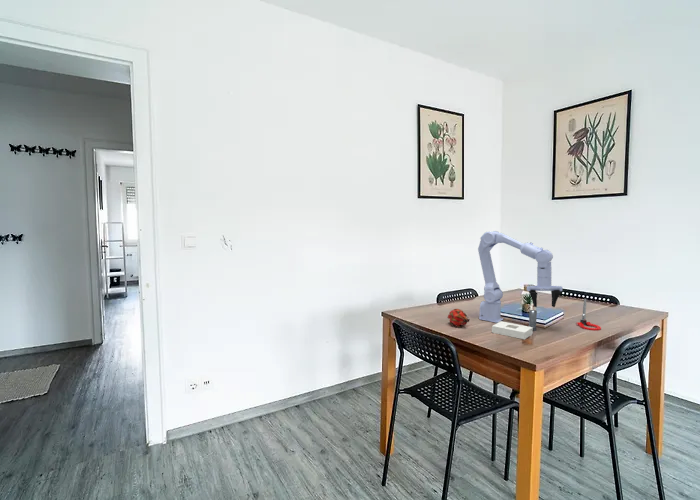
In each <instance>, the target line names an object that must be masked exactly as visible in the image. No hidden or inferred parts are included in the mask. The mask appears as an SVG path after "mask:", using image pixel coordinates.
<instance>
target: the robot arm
mask: <svg viewBox="0 0 700 500" xmlns="http://www.w3.org/2000/svg"><path fill="white" fill-rule="evenodd" d="M479 239H480V241H479V245H478V248H477V251H478V256H479V260H480V265H481V270H482V274H483V280H484V284H485V285H484V288H483V290H484V291H483V292H484V294H483V299H484V300H482V301H481V302H480V304H479V317H478V319H479V320H481V321H482V320H483V321H486V322H491V323H495V324H497V323H498V322H500V321H502V322H503V320H504V318H502V317H501V315H502V314H501V311H502V309H501V308H502V301H501V299H502V298H503V297H504V293H503V290H502V289H501V287H500V284H499V283H498V282H497V279H496V273H495V269H494V265H493V261H492V260H493V259H492V255H491V250H492V249H493V248H494V246H496V245H497V244H506V245H508V246H510V247H513V248H515V249H518V250H519V251H520V253H521V254H522V255H524V256H526V257H528V258H531V259H532V260H535V261H536V262H537V267H536V269H537V270H536V271H537V274H536V275H537V276H536V277H537V278H536V279H537V281H536V285H528V286H526V291H527V292H528V294H529V295H530V298H531V299H532V304H533V307H535V308H537V306H538V304H537V303H538V299H537V298H538V291H539V292H541V291H542V292H543V291H544V292H546V291H547V292H549V291H550V292H551V293H550V294H551V307H552V308H555V307H556V304H557V301H558V299H559V297H560V295H561V292H563V286H562V285H552V260H553V258H554V255H553V253H552V252H551V251H550V249H549V250H548V249H544V247H539V246H537V245H534V243H533V242H524V243H523V242H521V241H519V240H517V238H516V239H515V238H513V237H511V236H509V235H507V234H505V233H502V232H499V231H497V230H493V231H486V232H484V233H483V234H482V235H481V236H480V238H479Z"/></svg>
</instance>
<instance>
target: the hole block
mask: <svg viewBox="0 0 700 500" xmlns="http://www.w3.org/2000/svg"><path fill="white" fill-rule="evenodd" d="M533 332H534V331H533V327H529V325H528V326H527V325H522V324H517V323H512V322H506V321H503V320H502V321H500V322H498V323H495V324H493V325H492V326H491V333H492V334H495V335H496V334H497V335H502V336H506V337H511V338H515V339H516V338H517V339H520V340H526V339H528V338H529V337H530V336H532V335H534V334H533Z"/></svg>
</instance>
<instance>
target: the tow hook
mask: <svg viewBox="0 0 700 500" xmlns="http://www.w3.org/2000/svg"><path fill="white" fill-rule="evenodd" d="M583 299H584V300H583V301H584V302H583V304H582V305H583V306H582V313H581V319H579V322H578V321H577V322H576V323H575V325H576V326H579V328H581V329H583V330H586V331H597V332H598V331H601V330H602V327H601V326H600V325H598V324H594V323H592V322H590V321H587V316H586V313H587V298H583ZM589 326H590V327H589Z"/></svg>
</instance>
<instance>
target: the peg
mask: <svg viewBox="0 0 700 500" xmlns="http://www.w3.org/2000/svg"><path fill="white" fill-rule="evenodd" d="M537 315H538V311H537V310H536V309H529V314H528V327H533V332H536V331H537V317H538V316H537Z"/></svg>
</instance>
